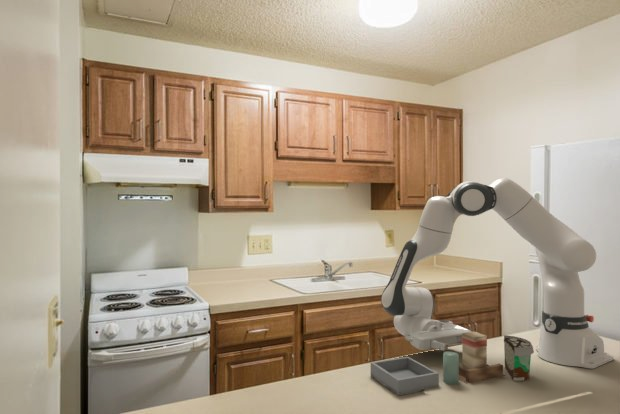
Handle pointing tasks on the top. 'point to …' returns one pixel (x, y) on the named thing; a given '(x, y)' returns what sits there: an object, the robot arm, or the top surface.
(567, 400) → the top surface
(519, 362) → the food container
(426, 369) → the grey tray
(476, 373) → the walnut rack
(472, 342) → the birch block
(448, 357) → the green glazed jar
